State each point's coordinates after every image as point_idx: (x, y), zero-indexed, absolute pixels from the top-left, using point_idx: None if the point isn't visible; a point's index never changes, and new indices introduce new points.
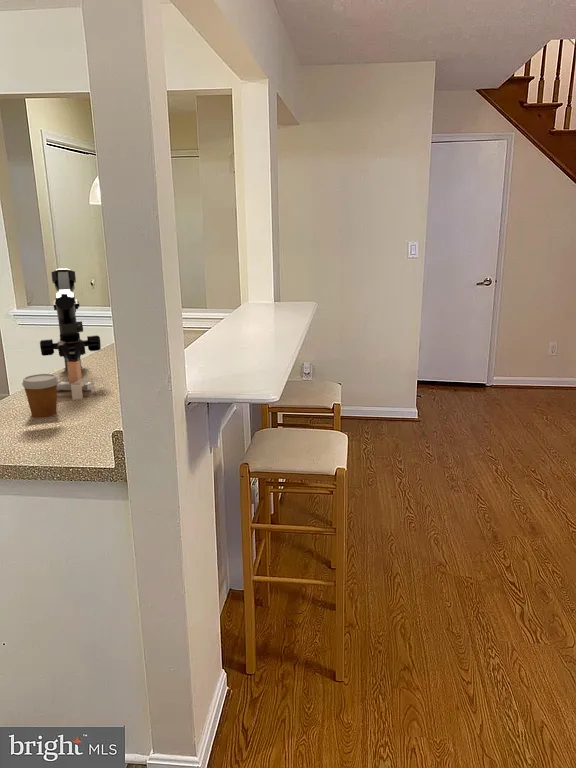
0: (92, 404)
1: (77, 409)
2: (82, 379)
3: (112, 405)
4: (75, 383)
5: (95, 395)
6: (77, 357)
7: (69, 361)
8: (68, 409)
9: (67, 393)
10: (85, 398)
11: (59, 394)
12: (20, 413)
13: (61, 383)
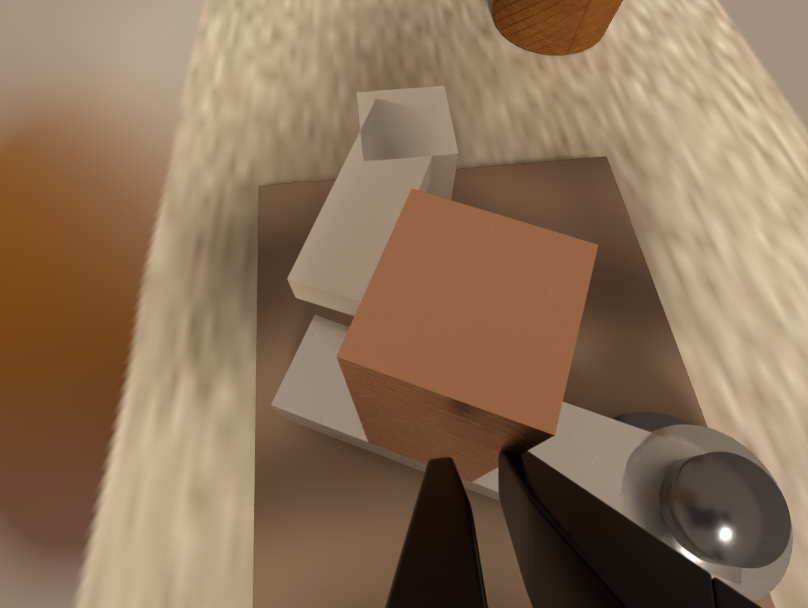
0: (306, 147)
1: (394, 88)
2: (348, 265)
3: (190, 102)
4: (412, 142)
5: (270, 231)
6: (401, 584)
7: (546, 256)
8: (447, 99)
9: None
10: None
11: None
12: (712, 101)
13: (598, 444)
